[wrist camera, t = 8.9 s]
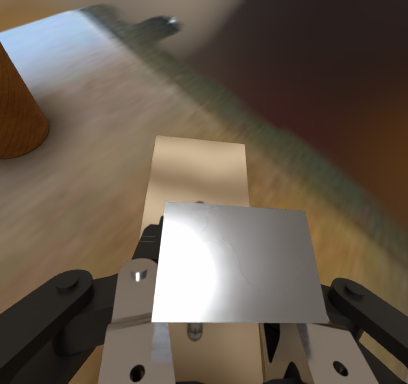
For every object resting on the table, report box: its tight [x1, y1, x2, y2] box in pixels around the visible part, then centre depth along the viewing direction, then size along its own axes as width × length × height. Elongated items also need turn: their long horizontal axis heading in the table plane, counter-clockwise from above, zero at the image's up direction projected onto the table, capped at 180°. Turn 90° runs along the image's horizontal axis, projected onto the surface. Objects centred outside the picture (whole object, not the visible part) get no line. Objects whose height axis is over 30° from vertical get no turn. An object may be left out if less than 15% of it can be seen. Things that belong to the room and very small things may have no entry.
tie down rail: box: [139, 135, 263, 384], centre depth 15 cm, size 22×9×4 cm, turn 178°
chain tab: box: [152, 201, 328, 342], centre depth 10 cm, size 9×4×11 cm, turn 178°
